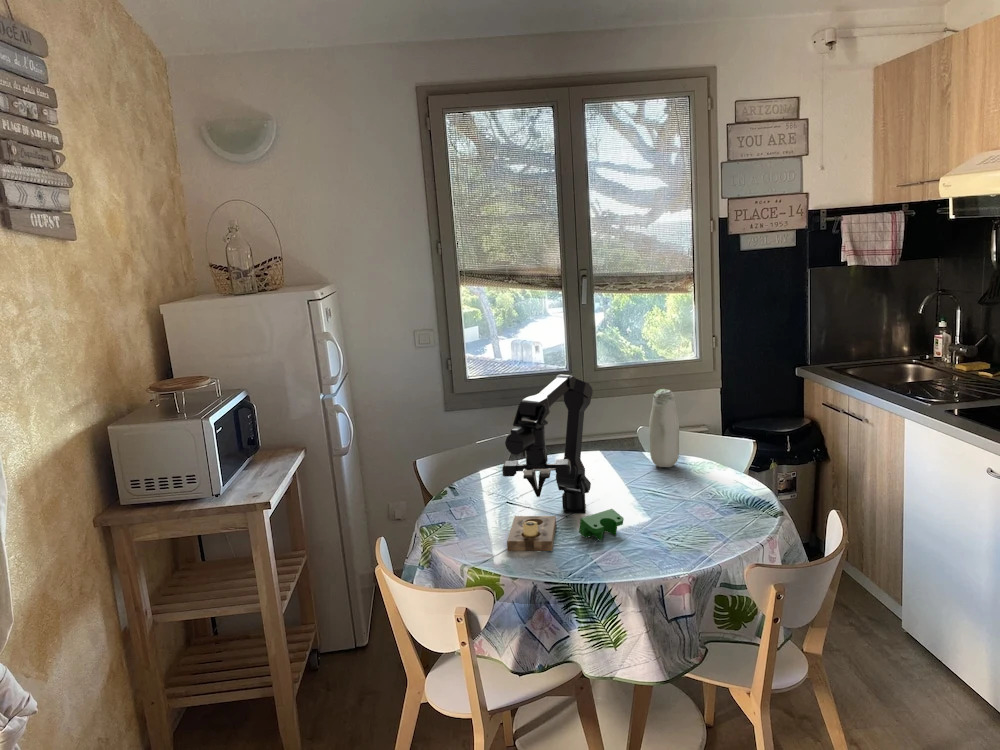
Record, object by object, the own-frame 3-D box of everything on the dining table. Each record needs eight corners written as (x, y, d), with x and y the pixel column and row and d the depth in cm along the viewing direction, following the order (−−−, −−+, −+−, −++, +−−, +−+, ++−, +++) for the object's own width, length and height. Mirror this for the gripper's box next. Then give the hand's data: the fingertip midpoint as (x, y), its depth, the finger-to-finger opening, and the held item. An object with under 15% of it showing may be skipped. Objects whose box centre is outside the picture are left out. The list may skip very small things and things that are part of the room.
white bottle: (648, 462, 266) (647, 386, 260) (677, 462, 264) (676, 385, 259) (651, 471, 256) (650, 393, 250) (681, 470, 255) (680, 392, 249)
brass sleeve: (539, 541, 204) (538, 520, 203) (537, 547, 200) (536, 526, 199) (524, 541, 205) (523, 520, 203) (523, 547, 201) (522, 526, 200)
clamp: (595, 555, 204) (589, 533, 199) (582, 543, 208) (575, 521, 203) (628, 530, 207) (623, 508, 202) (614, 519, 212) (609, 497, 207)
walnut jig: (556, 525, 214) (555, 516, 214) (552, 551, 197) (551, 541, 196) (515, 525, 216) (514, 515, 215) (507, 551, 199) (507, 541, 198)
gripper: (569, 433, 211) (572, 485, 214) (505, 435, 213) (508, 486, 216) (568, 446, 200) (571, 500, 203) (500, 448, 202) (504, 501, 206)
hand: (538, 496), depth 207 cm, fingers closed
